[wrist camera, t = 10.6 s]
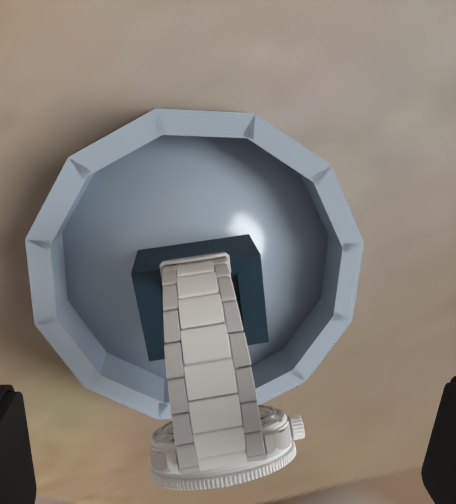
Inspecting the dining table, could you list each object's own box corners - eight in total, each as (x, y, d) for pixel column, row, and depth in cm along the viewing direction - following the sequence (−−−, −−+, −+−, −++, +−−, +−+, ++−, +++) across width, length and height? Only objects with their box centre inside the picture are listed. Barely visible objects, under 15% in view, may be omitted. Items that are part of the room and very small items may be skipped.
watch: (159, 359, 23) (143, 570, 12) (130, 215, 20) (80, 329, 10) (261, 343, 23) (330, 534, 13) (247, 199, 20) (318, 292, 10)
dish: (33, 102, 19) (9, 101, 16) (356, 117, 21) (383, 119, 18) (60, 388, 23) (45, 424, 21) (321, 380, 25) (338, 412, 23)
